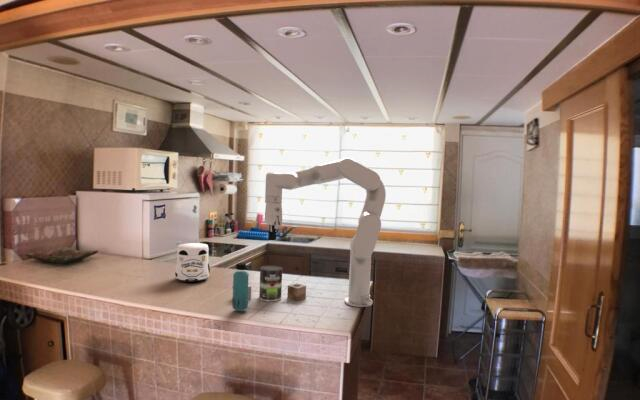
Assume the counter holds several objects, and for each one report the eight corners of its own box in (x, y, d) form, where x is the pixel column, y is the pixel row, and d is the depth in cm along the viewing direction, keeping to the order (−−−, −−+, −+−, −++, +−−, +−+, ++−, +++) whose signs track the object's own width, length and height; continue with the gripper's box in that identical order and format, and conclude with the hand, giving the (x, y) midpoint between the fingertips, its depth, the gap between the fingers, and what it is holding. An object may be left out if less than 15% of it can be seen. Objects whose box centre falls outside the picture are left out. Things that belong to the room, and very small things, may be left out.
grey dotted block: (250, 299, 174) (251, 286, 174) (237, 300, 173) (237, 286, 172) (249, 295, 180) (250, 282, 180) (236, 296, 179) (237, 282, 178)
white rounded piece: (187, 286, 190) (188, 250, 189) (168, 279, 200) (168, 245, 199) (216, 279, 204) (217, 246, 202) (196, 273, 214) (197, 241, 213)
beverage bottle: (249, 308, 163) (250, 261, 161) (246, 314, 156) (248, 265, 155) (233, 308, 162) (234, 261, 161) (230, 313, 156) (231, 265, 154)
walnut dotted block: (305, 298, 179) (306, 285, 179) (296, 301, 175) (297, 287, 174) (296, 295, 183) (296, 282, 183) (287, 298, 178) (287, 285, 178)
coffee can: (283, 301, 174) (284, 270, 173) (260, 302, 171) (261, 270, 170) (279, 294, 184) (280, 264, 183) (257, 294, 181) (258, 265, 180)
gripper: (288, 201, 170) (286, 242, 171) (274, 198, 183) (273, 236, 184) (272, 201, 166) (270, 243, 168) (259, 198, 179) (258, 237, 180)
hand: (272, 239), depth 176 cm, fingers closed
